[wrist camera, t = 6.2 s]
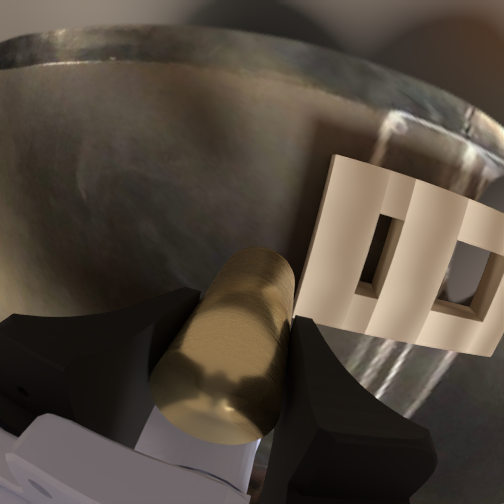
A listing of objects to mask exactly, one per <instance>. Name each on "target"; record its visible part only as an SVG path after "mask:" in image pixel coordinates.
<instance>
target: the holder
mask: <svg viewBox="0 0 504 504" xmlns="http://www.w3.org/2000/svg"><path fill="white" fill-rule="evenodd" d="M379 214H383V215H387V216H390V217H392V221H391V224H390V227H389V231H388V234H387V237H386V241H385V244H384V247H383V250H382V253H381V256H380V259H379V262H378V265H377V268H376V271H375V274H374V277H373V280H372V283H371V284H370V283H366V282H362V281H359V278H360V275H361V272H362V269H363V266H364V263H365V260H366V257H367V254H368V251H369V248H370V245H371V241H372V238H373V235H374V231H375V228H376V225H377V221H378V218H379ZM457 240H460V241H463V242H466V243H468V244H471V245H474V246H477V247H480V248H483V249H485V250H488V251H491V253H490V256H489V259H488V261H487V264H486V267H485V269H484V273H483V275H482V277H481V280H480V283H479V285H478V287H477V290H476V292H475V295H474V297H473V299H472V302H471V304H470V306H469V307H468V306H464V305H460V304H456V303H452V302H448V301H444V300H440V299H436V296H437V293H438V291H439V288H440V286H441V283H442V281H443V278H444V275H445V273H446V270H447V267H448V265H449V262H450V259H451V256H452V253H453V250H454V247H455V244H456V241H457ZM295 315H298V316H303V317H307V318H312V319H313V321H314V322H315V323H317V324H322V325H326V326H330V327H335V328H339V329H344V330H348V331H353V332H358V333H362V334H367V335H372V336H376V337H381V338H386V339H391V340H396V341H401V342H406V343H412V344H417V345H422V346H428V347H433V348H439V349H444V350H450V351H456V352H462V353H468V354H474V355H481V356H487V357H491V355H492V353H493V352H494V350H495V348H496V346H497V344H498V342H499V340H500V339H501V337H502V335H503V333H504V213H502V212H499V211H497V210H495V209H493V208H490V207H488V206H486V205H483V204H481V203H479V202H476V201H474V200H471V199H469V198H466V197H464V196H461V195H459V194H456V193H454V192H451V191H448V190H446V189H443V188H440V187H438V186H435V185H432V184H429V183H427V182H424V181H421V180H418V179H415V178H412V177H409V176H406V175H403V174H400V173H397V172H394V171H391V170H388V169H385V168H381V167H378V166H375V165H372V164H368V163H365V162H362V161H358V160H355V159H351V158H347V157H344V156H340V155H336V154H332V157H331V162H330V166H329V170H328V174H327V178H326V183H325V187H324V191H323V195H322V199H321V203H320V207H319V211H318V215H317V218H316V222H315V226H314V230H313V234H312V237H311V241H310V245H309V249H308V252H307V256H306V260H305V263H304V267H303V270H302V274H301V277H300V281H299V284H298V288H297V291H296V295H295V298H294V305H293V315H292V318H295Z"/></svg>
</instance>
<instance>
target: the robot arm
mask: <svg viewBox="0 0 504 504" xmlns="http://www.w3.org/2000/svg"><path fill="white" fill-rule="evenodd" d="M200 293H201V291H198V290H194V289H191V288H187V287H183V288H180V289H177V290H174V291H172V292H169V293H167V294H164V295H162V296H159V297H156V298H154V299H151V300H148V301H146V302H142V303H139V304H136V305H133V306H130V307H127V308H123V309H119V310H115V311H111V312H106V313H100V314H93V315H84V316H74V317H41V316H31V315H21V314H12V315H10V316H9V317H8V318H6V319H5V320H3V321H2V322H0V504H249V503H250V499H251V496H250V495H247V494H246V493H247V489H248V484H249V480H250V475H251V471H252V466H253V461H254V457H255V452H256V450H257V447H258V445H259V443H260V440H261V438H260V439H258V440H256V441H253V442H250V443H245V444H238V445H225V444H216V443H211V442H207V441H204V440H201V439H198V438H196V437H193V436H191V435H189V434H187V433H185V432H183V431H182V430H180V429H179V428H177V427H176V426H175V425H173V424H172V423H171V422H170V421H169V420H168V419H166V417H165V416H164V415H163V414H162V413H161V412H160V410H159V409H158V408H157V406H156V404H155V402H154V400H153V397H152V395H151V391H150V378H151V374H152V372H153V370H154V368H155V366H156V365H157V363H158V362H159V360H160V359H161V357H162V356H163V354H164V353H165V351H166V350H167V348H168V347H169V345H170V344H171V342H172V341H173V340H174V338H175V337H176V335H177V334H178V332H179V331H180V329H181V328H182V326H183V325H184V323H185V322H186V320H187V319H188V317H189V316H190V315H191V313H192V312H193V310H194V309H195V307H196V306H197V304H198V303H199V300H200ZM437 463H438V460H437V454H436V450H435V447H434V444H433V441H432V438H431V435H430V432H429V430H428V429H426V428H424V427H422V426H420V425H418V424H416V423H414V422H412V421H410V420H408V419H407V418H405V417H403V416H401V415H400V414H398V413H397V412H395V411H394V410H392V409H390V408H389V407H387V406H386V405H385V404H383V403H382V402H381V401H379V400H378V399H377V398H375V397H374V396H373V395H372V394H371V393H369V392H368V391H367V390H366V389H365V388H364V387H363V386H362V385H360V384H359V383H358V382H357V381H356V379H355V378H354V377H353V376H352V375H351V374H350V373H349V372H348V371H347V370H346V369H345V368H344V366H343V365H342V364H341V362H340V361H339V360H338V359H337V357H336V356H335V355H334V353H333V352H332V350H331V349H330V347H329V346H328V344H327V343H326V341H325V340H324V338H323V336H322V335H321V333H320V331H319V329H318V328H317V326H316V324H315V322H314V321H313V319H312V318H307V317H303V316H298V315H295V318H294V322H293V325H292V328H291V332H290V337H289V346H288V355H287V364H286V372H285V380H284V389H283V396H282V404H281V412H280V417H279V420H278V422H277V424H276V426H275V427H274V437H273V443H272V448H271V453H270V458H269V463H268V468H267V472H266V477H265V481H264V486H263V490H262V494H261V498H260V502H259V504H410V502H409V498H410V497H411V496H412V495H413V494H414V493H415V492H416V491H417V490H418V489H419V488H420V487H421V486H422V485H423V484H424V483H425V482H426V481H427V480H428V479H429V478H430V476H431V475H432V474H433V472H434V471H435V469H436V466H437Z"/></svg>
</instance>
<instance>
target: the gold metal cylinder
mask: <svg viewBox="0 0 504 504" xmlns="http://www.w3.org/2000/svg"><path fill="white" fill-rule="evenodd" d="M294 286H295V280H294V274H293V271H292V269H291V267H290V265H289V263H288V262H287V261H286V260H285V259H284V258H283V257H282V256H281V255H280V254H278V253H277V252H275V251H273V250H271V249H268V248H264V247H249V248H245V249H242V250H240V251H238V252H236V253H235V254H233V255H232V256H231V257H230V258H229V259H228V261H227V262H226V264H225V265H224V266H223V268H222V269H221V271H220V272H219V274H218V275H217V277H216V278H215V279H214V281H213V282H212V284H211V285H210V287H209V288H208V290H207V291H206V293H205V294H204V296H203V297H202V298H201V300H200V301H199V303H198V304H197V306H196V307H195V309H194V310H193V312H192V313H191V315H190V316H189V317H188V319H187V320H186V322H185V323H184V325H183V326H182V328H181V329H180V331H179V332H178V334H177V335H176V337H175V338H174V340H173V341H172V342H171V344H170V345H169V347H168V348H167V350H166V351H165V353H164V354H163V356H162V357H161V359H160V360H159V362H158V363H157V365H156V366H155V368H154V370H153V372H152V374H151V378H150V391H151V395H152V397H153V400H154V402H155V404H156V406H157V408H158V409H159V410H160V412H161V413H162V414H163V415H164V416H165V417H166V419H168V420H169V421H170V422H171V423H172V424H173V425H175V426H176V427H177V428H179V429H180V430H182V431H183V432H185V433H187V434H189V435H191V436H193V437H196V438H198V439H201V440H204V441H207V442H211V443H216V444H225V445H238V444H245V443H250V442H253V441H256V440H258V439H260V438H262V437H264V436H265V435H267V434H268V433H269V432H270V431H272V430H273V428H274V427H275V426H276V424H277V422H278V420H279V417H280V412H281V404H282V396H283V389H284V380H285V372H286V364H287V355H288V346H289V337H290V327H291V318H292V308H293V297H294Z"/></svg>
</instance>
